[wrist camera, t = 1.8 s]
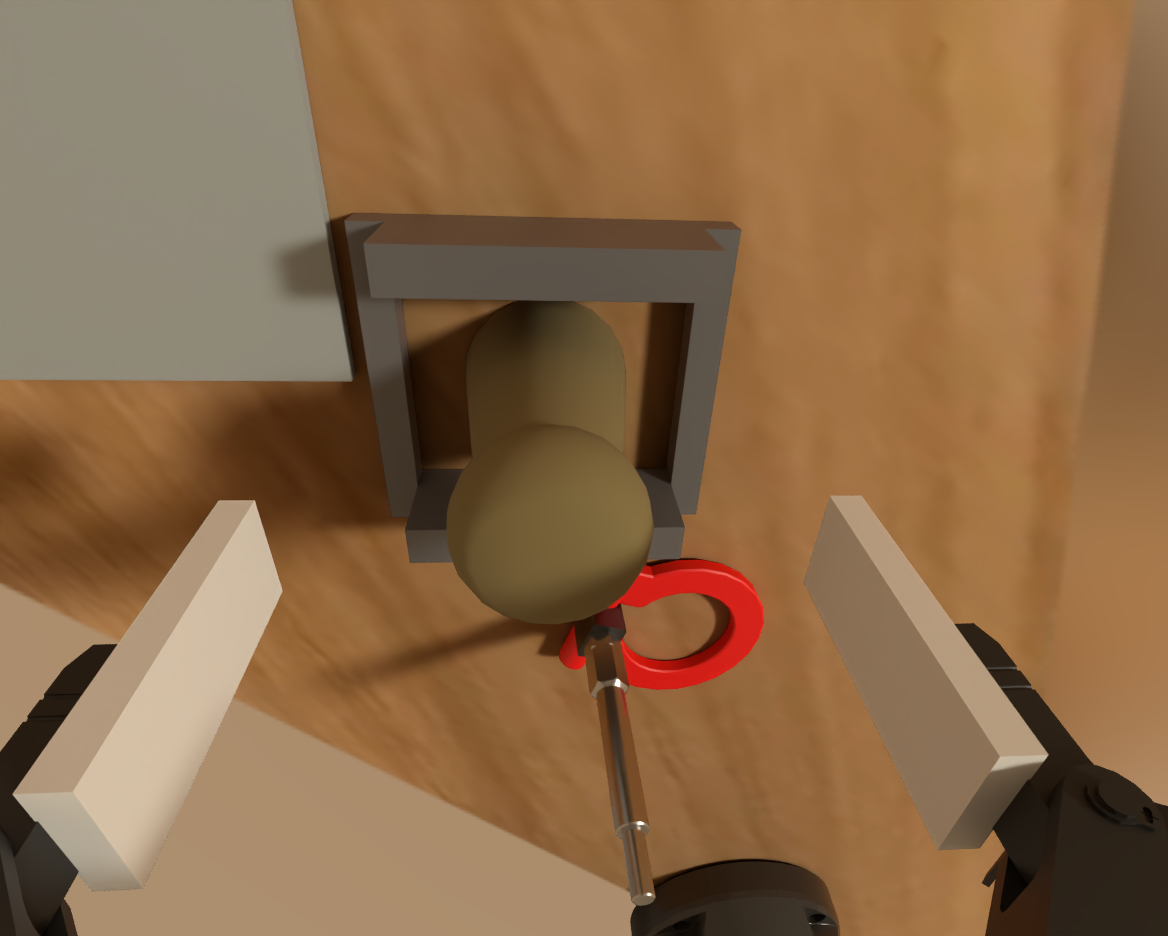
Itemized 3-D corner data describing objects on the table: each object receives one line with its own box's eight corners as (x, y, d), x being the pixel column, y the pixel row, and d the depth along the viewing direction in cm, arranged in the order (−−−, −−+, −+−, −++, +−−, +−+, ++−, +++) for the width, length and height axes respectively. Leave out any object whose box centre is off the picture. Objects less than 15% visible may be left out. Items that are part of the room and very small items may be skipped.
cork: (436, 330, 23) (368, 514, 14) (595, 271, 22) (638, 422, 13) (503, 464, 26) (485, 686, 17) (644, 416, 25) (708, 621, 16)
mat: (355, 374, 24) (351, 381, 23) (10, 372, 23) (-2, 379, 22) (285, -39, 17) (277, -42, 17) (-201, -64, 16) (-225, -68, 16)
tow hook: (787, 573, 31) (613, 531, 28) (937, 854, 20) (680, 828, 18) (708, 683, 35) (549, 654, 32) (797, 964, 24) (571, 956, 22)
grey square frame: (690, 497, 27) (711, 558, 24) (396, 499, 27) (376, 563, 23) (731, 222, 21) (767, 251, 18) (353, 212, 21) (317, 242, 17)
